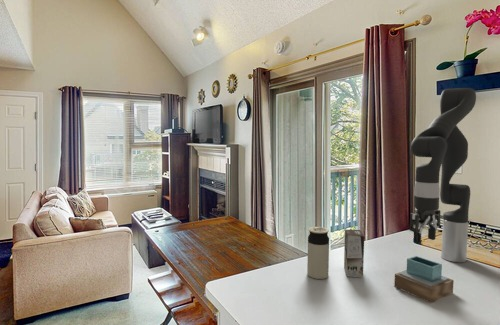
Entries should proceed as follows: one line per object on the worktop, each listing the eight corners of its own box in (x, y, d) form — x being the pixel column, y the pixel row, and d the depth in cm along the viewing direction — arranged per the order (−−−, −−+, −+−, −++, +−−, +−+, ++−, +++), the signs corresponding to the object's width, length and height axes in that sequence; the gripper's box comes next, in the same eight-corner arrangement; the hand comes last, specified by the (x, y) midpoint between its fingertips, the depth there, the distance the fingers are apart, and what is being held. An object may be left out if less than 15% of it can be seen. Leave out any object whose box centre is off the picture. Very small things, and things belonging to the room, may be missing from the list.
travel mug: (332, 274, 118) (333, 229, 117) (321, 281, 113) (322, 233, 111) (314, 269, 124) (315, 225, 123) (303, 275, 118) (304, 229, 117)
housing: (441, 278, 104) (441, 264, 104) (432, 282, 101) (432, 267, 101) (415, 269, 112) (416, 255, 111) (406, 272, 109) (407, 258, 109)
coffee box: (363, 278, 116) (364, 236, 115) (346, 276, 117) (347, 235, 116) (360, 268, 125) (361, 229, 124) (343, 267, 126) (344, 228, 125)
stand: (416, 278, 116) (416, 265, 115) (452, 292, 104) (453, 278, 104) (394, 286, 109) (394, 272, 109) (431, 302, 98) (431, 287, 98)
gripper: (425, 198, 98) (423, 248, 99) (449, 194, 105) (447, 241, 106) (403, 195, 104) (401, 241, 106) (427, 191, 111) (425, 235, 113)
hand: (424, 241), depth 106 cm, fingers open, 8 cm apart
